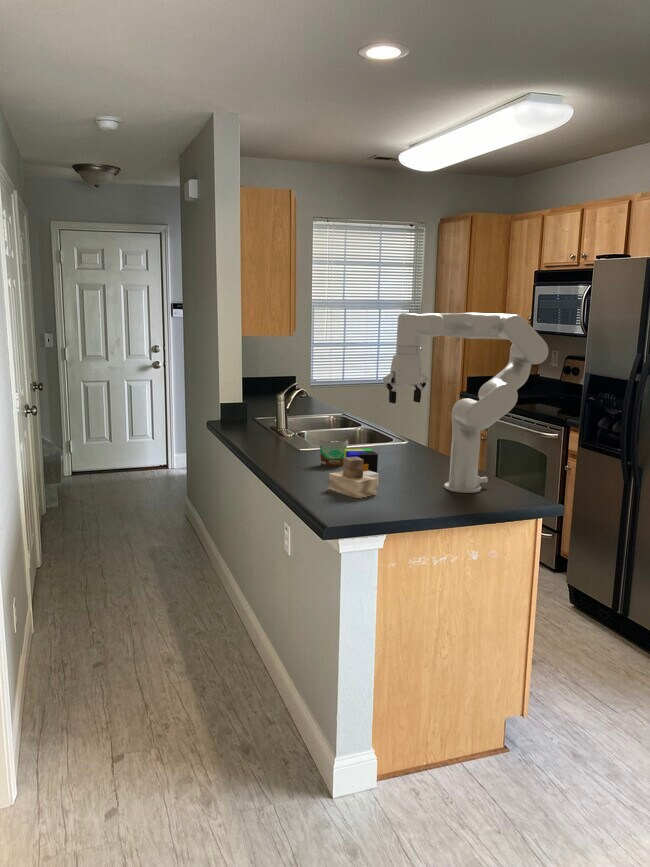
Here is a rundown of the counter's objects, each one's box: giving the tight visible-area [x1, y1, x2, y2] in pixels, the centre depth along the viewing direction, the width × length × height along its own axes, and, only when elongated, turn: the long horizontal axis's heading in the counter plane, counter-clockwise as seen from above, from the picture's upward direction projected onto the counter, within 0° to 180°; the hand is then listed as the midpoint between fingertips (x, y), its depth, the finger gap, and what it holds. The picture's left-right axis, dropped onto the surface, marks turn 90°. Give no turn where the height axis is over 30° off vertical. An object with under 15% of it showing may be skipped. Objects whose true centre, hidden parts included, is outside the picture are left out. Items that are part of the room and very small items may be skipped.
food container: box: [318, 438, 349, 468], centre depth 277 cm, size 12×6×10 cm, turn 112°
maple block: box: [328, 470, 378, 499], centre depth 239 cm, size 9×14×6 cm, turn 39°
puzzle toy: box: [344, 448, 379, 473], centre depth 258 cm, size 10×10×10 cm
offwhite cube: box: [363, 471, 380, 487], centre depth 248 cm, size 5×5×5 cm
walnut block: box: [342, 457, 364, 478], centre depth 238 cm, size 5×5×6 cm
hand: (404, 402), depth 239 cm, fingers open, 9 cm apart
